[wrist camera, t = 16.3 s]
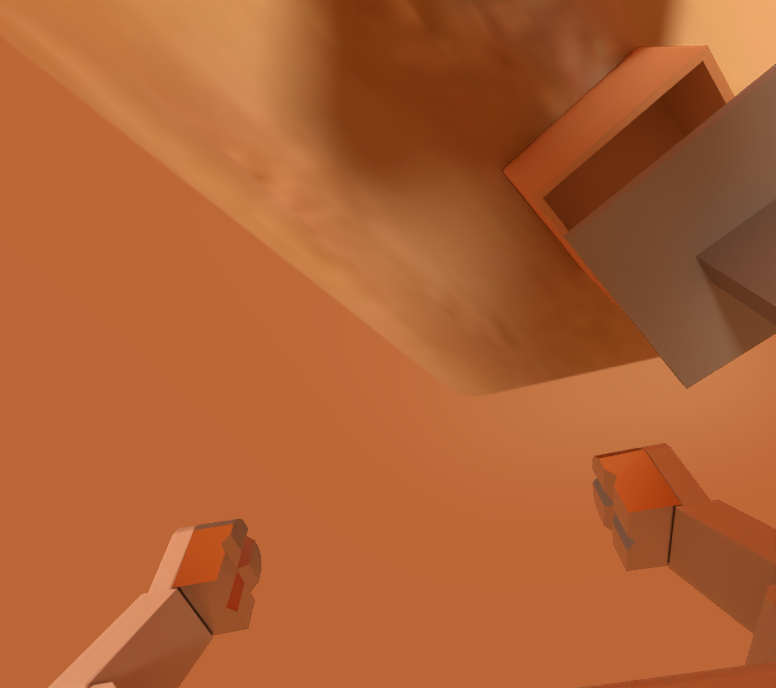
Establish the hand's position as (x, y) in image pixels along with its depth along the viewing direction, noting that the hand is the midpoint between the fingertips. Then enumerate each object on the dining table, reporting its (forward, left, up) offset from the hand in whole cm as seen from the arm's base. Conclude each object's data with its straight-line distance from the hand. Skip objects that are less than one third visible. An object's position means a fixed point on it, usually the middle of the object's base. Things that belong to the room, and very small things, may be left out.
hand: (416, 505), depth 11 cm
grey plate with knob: (+5, +20, -20) cm, 29 cm away
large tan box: (+5, +20, -39) cm, 44 cm away
